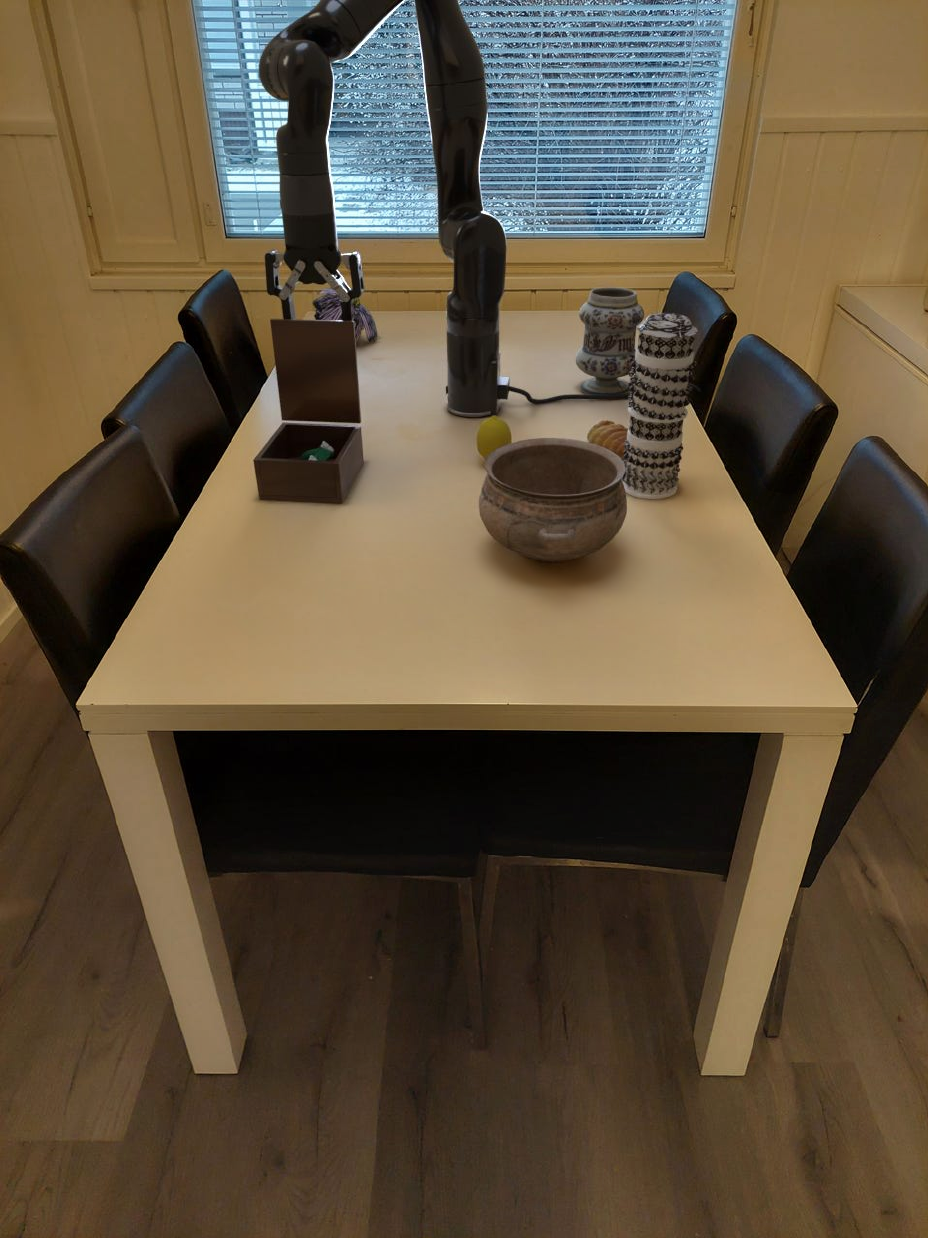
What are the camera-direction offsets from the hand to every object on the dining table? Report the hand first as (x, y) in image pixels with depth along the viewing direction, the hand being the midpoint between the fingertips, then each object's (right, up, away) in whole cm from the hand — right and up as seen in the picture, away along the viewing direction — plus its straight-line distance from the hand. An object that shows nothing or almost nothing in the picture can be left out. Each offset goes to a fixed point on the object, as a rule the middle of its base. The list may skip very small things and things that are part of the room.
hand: (319, 324), depth 133 cm
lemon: (+27, -20, +7) cm, 34 cm away
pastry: (+46, -17, +11) cm, 51 cm away
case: (-1, -23, +2) cm, 23 cm away
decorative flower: (-4, +18, +64) cm, 66 cm away
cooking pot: (+33, -36, -17) cm, 52 cm away
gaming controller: (-2, -23, +2) cm, 23 cm away
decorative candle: (+50, -25, -1) cm, 56 cm away
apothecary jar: (+49, -1, +35) cm, 60 cm away
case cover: (0, -7, 0) cm, 7 cm away
